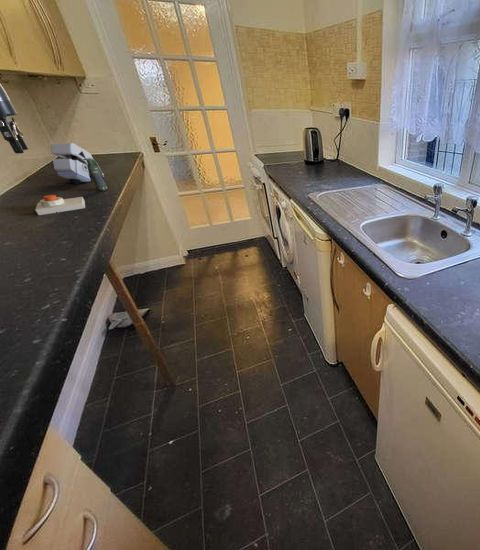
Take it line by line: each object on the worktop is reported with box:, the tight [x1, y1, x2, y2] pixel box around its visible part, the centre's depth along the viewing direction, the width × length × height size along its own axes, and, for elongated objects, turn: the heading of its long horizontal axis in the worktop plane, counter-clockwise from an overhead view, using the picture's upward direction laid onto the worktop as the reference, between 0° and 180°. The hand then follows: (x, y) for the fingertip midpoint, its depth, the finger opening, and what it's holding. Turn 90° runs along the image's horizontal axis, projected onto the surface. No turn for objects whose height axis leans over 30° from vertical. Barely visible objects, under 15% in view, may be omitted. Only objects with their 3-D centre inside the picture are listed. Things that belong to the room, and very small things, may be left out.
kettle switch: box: [43, 194, 58, 201], centre depth 118 cm, size 4×4×2 cm
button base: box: [35, 196, 86, 216], centre depth 121 cm, size 14×11×4 cm
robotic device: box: [50, 142, 105, 185], centre depth 155 cm, size 10×21×20 cm
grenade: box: [84, 157, 108, 192], centre depth 140 cm, size 4×4×15 cm
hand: (22, 151), depth 106 cm, fingers open, 8 cm apart
